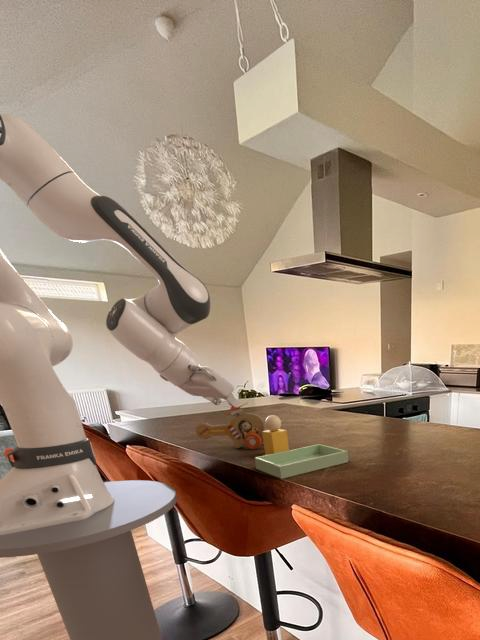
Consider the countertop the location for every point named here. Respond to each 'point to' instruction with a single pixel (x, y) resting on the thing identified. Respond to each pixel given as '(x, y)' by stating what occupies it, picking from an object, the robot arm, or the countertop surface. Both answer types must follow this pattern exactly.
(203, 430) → the toy helicopter
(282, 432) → the yellow block with ball
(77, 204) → the robot arm
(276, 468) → the tray
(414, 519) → the countertop surface
